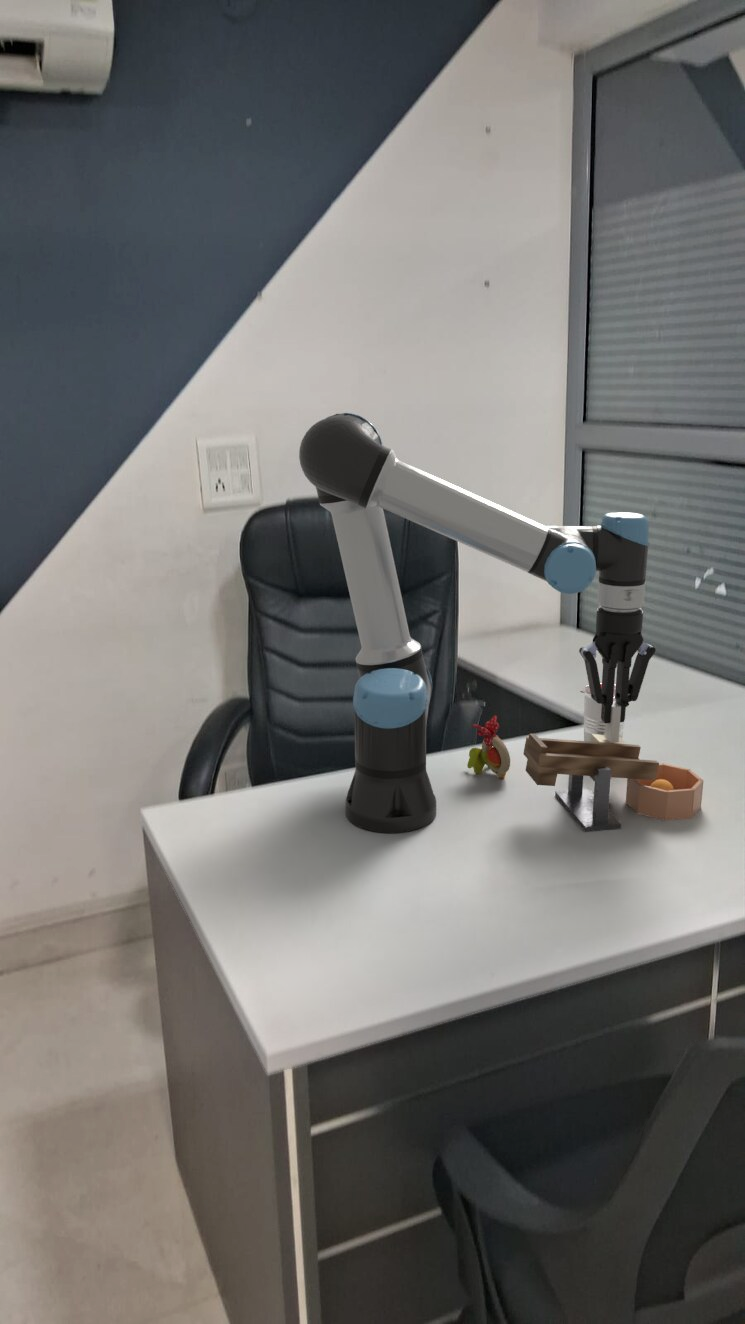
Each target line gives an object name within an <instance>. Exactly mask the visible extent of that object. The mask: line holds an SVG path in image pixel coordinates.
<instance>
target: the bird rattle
mask: <svg viewBox="0 0 745 1324" xmlns="http://www.w3.org/2000/svg"><path fill="white" fill-rule="evenodd" d="M497 719H498V716H497V715H493V716H492V717H491V718H490V720H488V721H486V723H485V726H484V727H483V726H480V725H478V724H475V723H473V724H472V727H473V728H476V729H478V730H477V735H478V736H479V737H483V741H482V742H481V743H482V744H481V748H479V747H472V748H471V749H470V750H469V754H468V757H469V759H468V761H467V765H466V766H467V768H468V769H471V768H473V772H474V773H475V774H477V775H478V774H482V772H483V770H484V766H485V765H486V766H487V768H488V769H489V770H490V771H491V772H493V773H494V774H495V775H496V776H497V777H498V778H499V779H503V778H505V777H506V774H507V773H508V771H509V770H510V767H511V756H510V752H509V750H508V748H507V745H506V744H505V743H504V741H503V740H502V739H501V738H500V737H499V735H497V734H496V733H497V732H498V730H499V728H500V725H499V723H498V722H497Z"/></svg>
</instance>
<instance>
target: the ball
mask: <svg viewBox="0 0 745 1324" xmlns="http://www.w3.org/2000/svg"><path fill="white" fill-rule="evenodd" d="M650 787H654V788H659V789H663V790H667V791H668V790H674V788H673V786H672V784H671V783H670V782H668V781H667V780H663V779H659V780H656V781H654V782H653V783H652V784H651V786H650Z"/></svg>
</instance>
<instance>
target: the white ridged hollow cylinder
mask: <svg viewBox="0 0 745 1324" xmlns="http://www.w3.org/2000/svg"><path fill="white" fill-rule="evenodd" d="M600 684H601V689H602V682H600ZM582 690H583V691H581V690H580V693H584V695H583V698H584V699H583V701H584V702H583V741H590V737H591V734H599V735H605V723H604V722H603V721H602V720H601V708H602V704H599V703H597V702H596V701H595V700H593V699H592V697H591V693H590V688H589V684H588V685H586V686H584V687H583V689H582ZM615 691H616V684H614V696H613V701H615V702H616V700H615ZM626 711H627V710H626ZM626 711H625V713H626ZM625 721H626V719H625V720H624V722H620V730H619V738H621V739H622V740H623V735H624V729H625ZM590 742H591V741H590Z"/></svg>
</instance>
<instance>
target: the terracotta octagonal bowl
mask: <svg viewBox="0 0 745 1324" xmlns="http://www.w3.org/2000/svg"><path fill="white" fill-rule="evenodd" d="M626 779H627V780H626V791H625V792H626V793H625V795H626V796H625V802H626V803H627V804H628V805H629V806H630V807H631V808H632V809H633V811H635V812H636V814H637V815H638V814H639V815H641V816H647V817H649V818H650V817H651V818H654V819H658V820H661V821H670V820H672V821H673V820H683V819H684V820H685V819H693V817H694V816H695V815H696V814H697V813H698V811H699V810H701V808H702V803H703V802H702V800H703V788H704V779H702V778H701V777H700V776H699V775H697V774H696V773H695V772H694V771H692V770H691V768H687V767H681V766H676V765H672V764H667V763H659V766H658V771H657V775H656V779H655V780H645V779H629V778H626ZM659 779H663V780H667V781H668V782H670V783H671V784H672V786H673V788H674V790H668V791H667V790H663V789H659V788H654V787H650V786H651V784H652V783H653V782H654V781H656V780H659Z"/></svg>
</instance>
